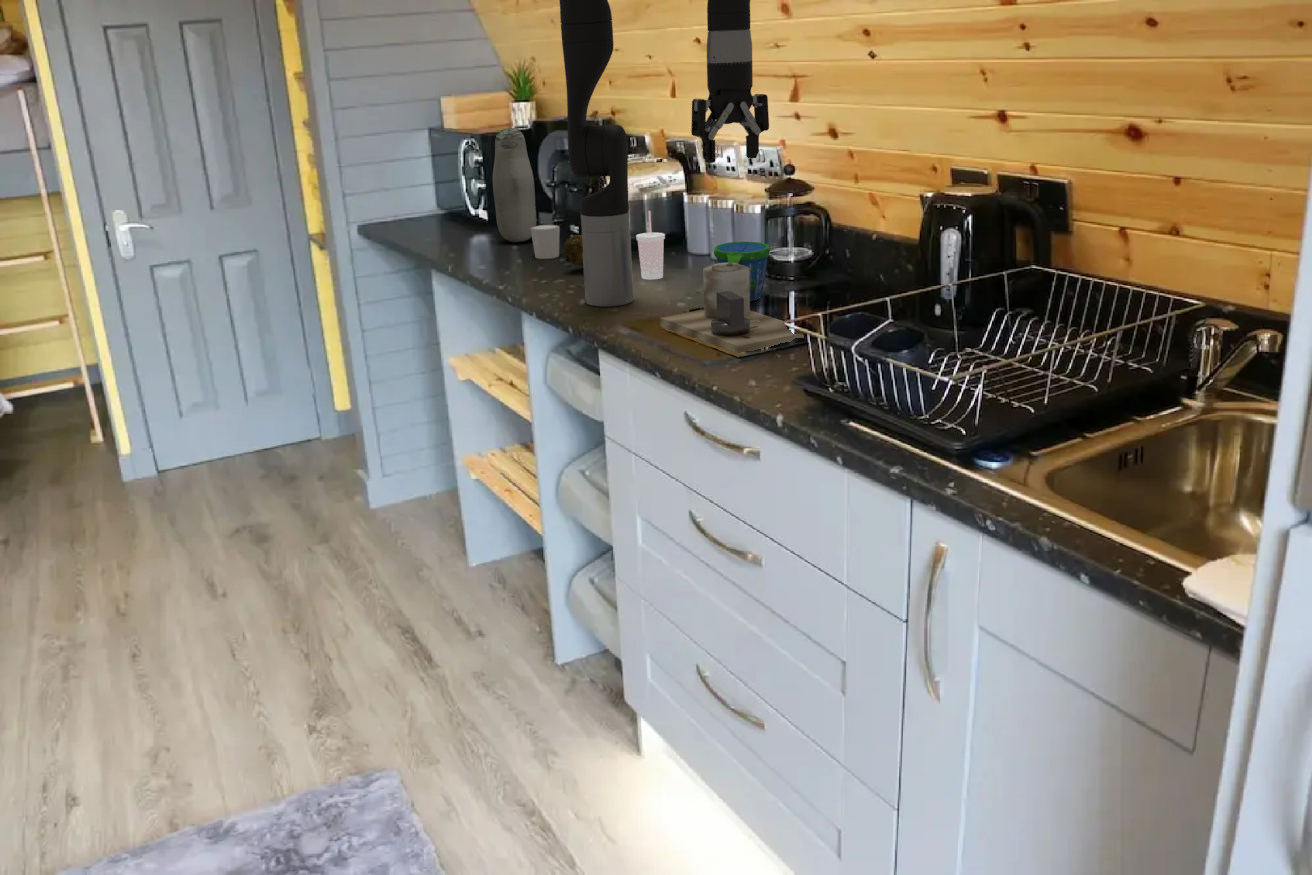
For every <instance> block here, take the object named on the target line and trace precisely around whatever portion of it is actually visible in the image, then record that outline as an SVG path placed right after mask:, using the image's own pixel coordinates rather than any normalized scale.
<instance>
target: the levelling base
mask: <svg viewBox="0 0 1312 875" xmlns="http://www.w3.org/2000/svg"><path fill="white" fill-rule="evenodd" d="M702 272H703V273H702V276H703V277H702V278H703V306H704V307H703V309H698V310H694V311H688V312H682V313H677V314H672V315H671V314H670V315H667V316H661V317H660V318H659V322H660V323H659V324H660V326H659V327H663V328H666V329H668V330H673V331H675V332H678V333H680V334H686V335H687V336H690V337H692V338H697V339H700V340H702V341H704V342H709V343H711V344H714V345H716V346H718V347H723V348H724V349H727V350H729V351H733V352H736V353H741V352H745V351H754V350H757V349H761V348H763V347H771V346H774V345H778V344H780V343H785V342H791V341H792V340H793V339H795V338H804V335H803V334H793V333H792V332H791V330H789V329H787V327H786V326H785V325H784V324H783V323H784V322H786V321H785V320H781V319H777V318H775V317H772V316H770V315H765V314H762V313H759V312H756V311H752V310H751V302H750V282H749V267H747V266H744V265H740V264H738V263H718V262H717V263H714V264H711V265H708V266H706V267H704V268H703V269H702ZM724 291H731V292H733V293H735V294H737V295H739V296H741V297H742V298H744V318H747V319H749V320H755V319H759V320H760V324H753V325H750V331H749V332H747V333H744V334H740V335H718V334H715V333H712V332H711V321H712V320H714V319H716V318H717V296H716V292H724Z"/></svg>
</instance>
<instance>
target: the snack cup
mask: <svg viewBox="0 0 1312 875" xmlns="http://www.w3.org/2000/svg"><path fill="white" fill-rule="evenodd" d="M770 254H771V247H770V245H768V244H767V243H764V242H759V241H732V242H725V243H720V244H717V245H716V246H714V249H713V255H714V257H715V258H716V261H717V263H738V264H740V265H744V266H747V267H749V282H750V300H753V299H757V298H759V297H761V298H762V296H763V293H764V285H765V279H766V271H767V267H768V266H767V264H768V259H769V258H768V257H769V256H770Z"/></svg>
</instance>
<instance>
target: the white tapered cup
mask: <svg viewBox="0 0 1312 875" xmlns="http://www.w3.org/2000/svg"><path fill="white" fill-rule="evenodd" d="M530 229H531V235H532V237H531V238H532V246H533V251H534V256H535V258H536V259H539V260H549V259H550V260H551V259H555V258H559V257H560V225H556V224H540V225H536V226H534V227H531V228H530Z"/></svg>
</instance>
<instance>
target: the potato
mask: <svg viewBox="0 0 1312 875" xmlns="http://www.w3.org/2000/svg"><path fill="white" fill-rule="evenodd" d="M563 251H564V255H565V261H566V262H568V263H569V262H570V263H572V264H573V265H575V266H578V267H583V242H582V234H575V235H572V236H571V237H568V238H567V239H565V242H564V243H563Z"/></svg>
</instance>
